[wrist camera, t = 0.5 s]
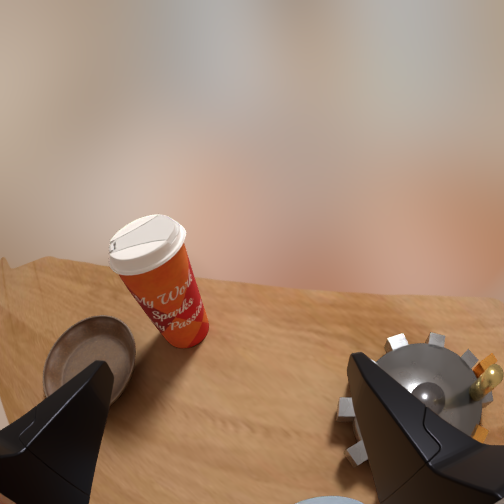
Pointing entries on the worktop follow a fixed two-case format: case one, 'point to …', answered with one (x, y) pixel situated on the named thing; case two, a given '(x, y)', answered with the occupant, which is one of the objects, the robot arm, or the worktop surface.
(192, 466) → the worktop surface
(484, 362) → the wooden toy brick
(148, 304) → the paper cup
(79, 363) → the saucer
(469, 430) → the sprocket
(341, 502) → the coaster
